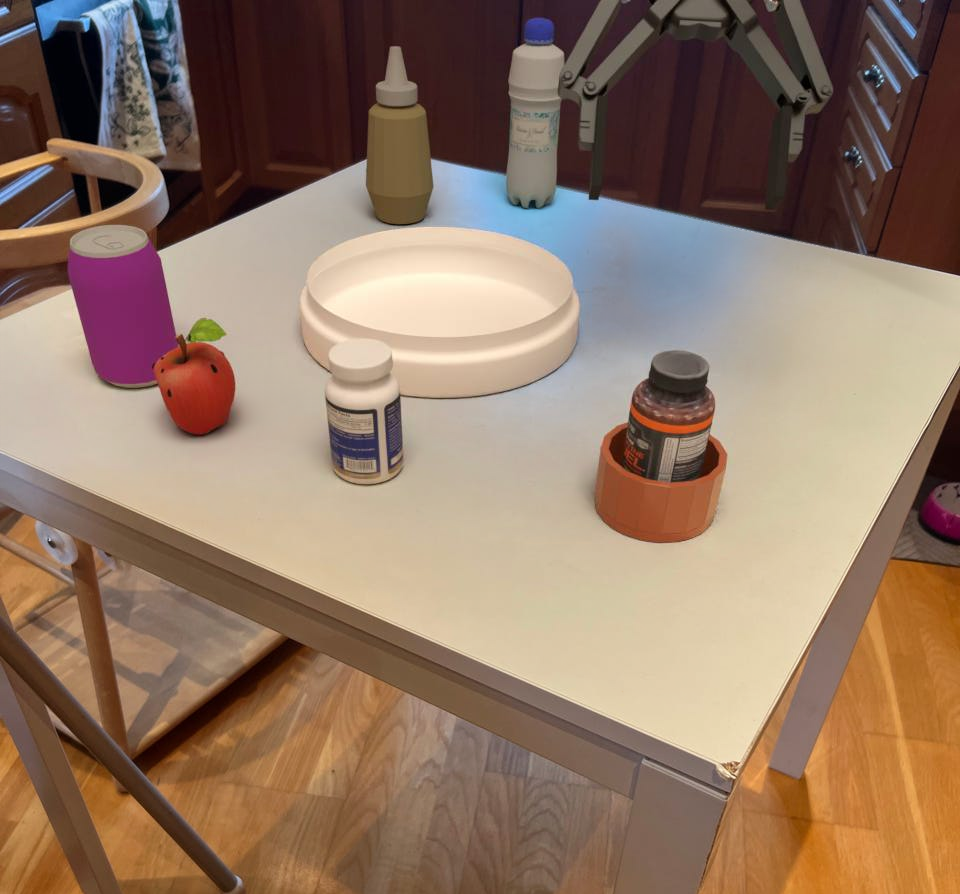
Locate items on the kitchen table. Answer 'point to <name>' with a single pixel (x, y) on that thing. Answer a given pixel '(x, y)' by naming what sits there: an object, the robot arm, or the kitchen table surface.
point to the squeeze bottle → (398, 148)
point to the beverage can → (121, 303)
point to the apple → (197, 380)
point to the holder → (656, 495)
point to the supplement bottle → (670, 419)
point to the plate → (445, 308)
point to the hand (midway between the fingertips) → (684, 199)
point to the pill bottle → (364, 412)
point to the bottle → (534, 116)
